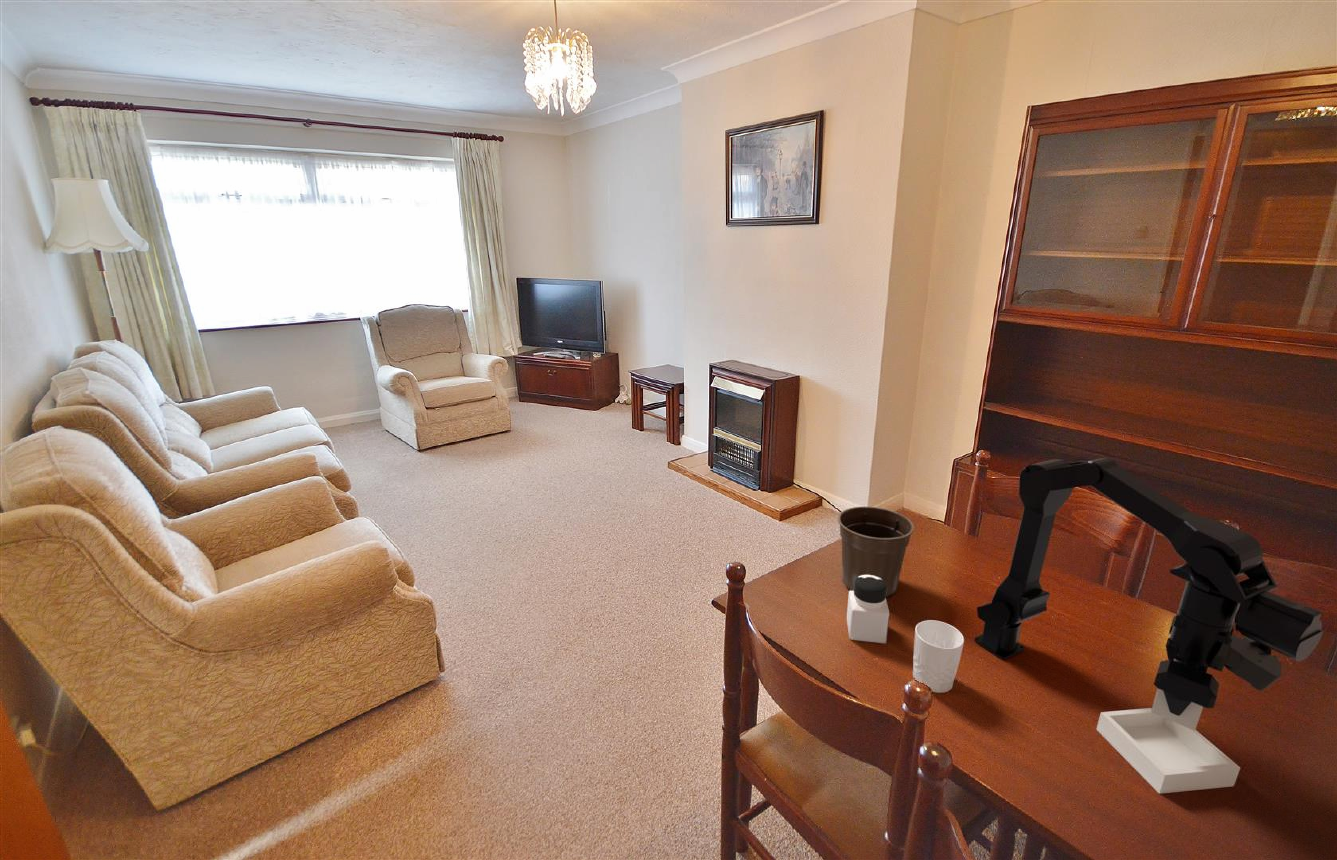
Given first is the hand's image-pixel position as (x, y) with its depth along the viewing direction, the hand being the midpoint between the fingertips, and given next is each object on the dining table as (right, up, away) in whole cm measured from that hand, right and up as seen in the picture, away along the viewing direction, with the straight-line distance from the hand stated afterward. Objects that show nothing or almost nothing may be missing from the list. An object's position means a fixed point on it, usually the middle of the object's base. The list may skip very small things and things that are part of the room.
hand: (1177, 703), depth 87 cm
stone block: (0, -1, 0) cm, 2 cm away
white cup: (-28, -5, +20) cm, 34 cm away
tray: (0, -10, +3) cm, 10 cm away
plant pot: (-29, +5, +49) cm, 57 cm away
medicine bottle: (-35, -1, +33) cm, 48 cm away
